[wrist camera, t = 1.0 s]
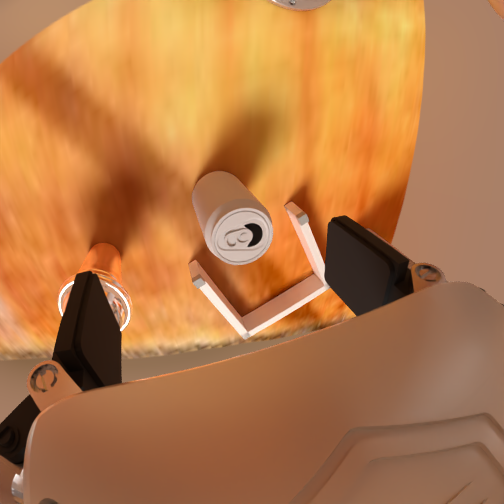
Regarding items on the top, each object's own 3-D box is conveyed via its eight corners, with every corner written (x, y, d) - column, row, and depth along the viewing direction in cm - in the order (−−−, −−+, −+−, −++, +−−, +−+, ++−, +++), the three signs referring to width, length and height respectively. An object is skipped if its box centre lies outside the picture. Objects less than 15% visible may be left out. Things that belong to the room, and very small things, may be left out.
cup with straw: (124, 221, 33) (105, 344, 17) (144, 279, 38) (151, 407, 21) (65, 238, 31) (17, 359, 15) (90, 292, 36) (73, 417, 20)
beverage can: (244, 210, 37) (280, 258, 28) (196, 223, 36) (215, 276, 26) (238, 164, 34) (274, 196, 24) (186, 176, 33) (200, 214, 23)
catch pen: (291, 201, 39) (306, 213, 35) (322, 274, 48) (335, 289, 44) (188, 263, 39) (192, 282, 35) (238, 324, 48) (246, 343, 44)
